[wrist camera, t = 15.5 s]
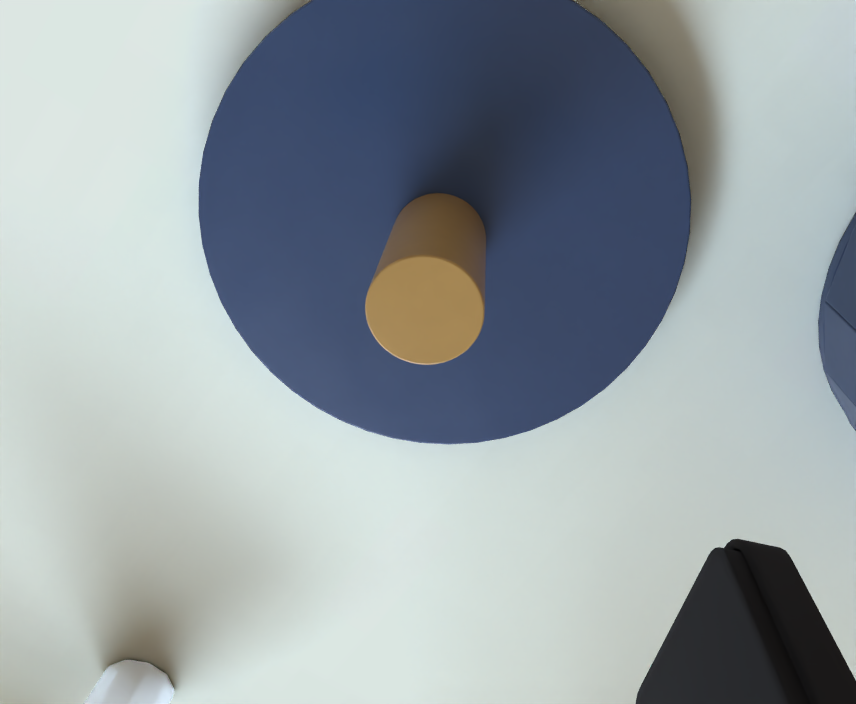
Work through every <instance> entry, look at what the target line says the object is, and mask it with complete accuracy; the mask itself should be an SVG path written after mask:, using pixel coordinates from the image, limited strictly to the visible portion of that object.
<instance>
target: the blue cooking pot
mask: <svg viewBox="0 0 856 704" xmlns="http://www.w3.org/2000/svg"><path fill="white" fill-rule="evenodd" d="M818 324H819V348H820V353H821V358H822V363H823V369H824V372H825V374H826V377H827V380H828V382H829V385H830V388H831V390H832V392H833V394H834V395H835V397H836V399H837V401H838V402H839V404H840V406H841V407H842V409H843V411H844V412H845V414H846V416H847V418H848V420H849V422H850V424H851V425H852V427H853V428H854V429H855V430H856V214H855V215H854V217H853V219H852V221H851V222H850V224H849V226H848V228H847V229H846V231H845V233H844V235H843V237H842V238H841V240H840V242H839V245H838V247H837V250H836V252H835V254H834V257H833V259H832V262H831V264H830V266H829V269H828V273H827V277H826V281H825V284H824V288H823V292H822V296H821V304H820V313H819V321H818Z"/></svg>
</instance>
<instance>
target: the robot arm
mask: <svg viewBox="0 0 856 704" xmlns="http://www.w3.org/2000/svg"><path fill="white" fill-rule="evenodd" d="M636 704H856V680H855V678H854V677H853V675H852V673H851V671H850V669H849V667H848V665H847V663H846V661H845V659H844V658H843V656H842V654H841V652H840V650H839V648H838V646H837V644H836V642H835V640H834V639H833V637H832V635H831V633H830V631H829V629H828V627H827V625H826V623H825V622H824V620H823V618H822V616H821V614H820V612H819V610H818V608H817V606H816V604H815V603H814V601H813V599H812V597H811V595H810V593H809V591H808V589H807V587H806V585H805V584H804V582H803V580H802V578H801V576H800V574H799V572H798V570H797V568H796V567H795V565H794V563H793V561H792V559H791V557H790V556H789V554H788V553H787V552H786V551H785V550H783V549H781V548H779V547H774V546H769V545H764V544H760V543H755V542H750V541H745V540H741V539H733V540H731V541H730V542H728V543H727V545H726V546H725V547H724V548H720V547H719V548H715V549H713V550H712V551H711V553H710V554H709V556H708V558H707V560H706V561H705V563H704V565H703V567H702V569H701V571H700V573H699V575H698V577H697V579H696V581H695V583H694V585H693V587H692V588H691V590H690V592H689V594H688V596H687V598H686V600H685V602H684V604H683V606H682V608H681V610H680V612H679V613H678V615H677V617H676V619H675V621H674V623H673V625H672V627H671V629H670V631H669V633H668V635H667V637H666V639H665V640H664V642H663V644H662V646H661V648H660V650H659V652H658V654H657V656H656V658H655V660H654V662H653V664H652V665H651V667H650V669H649V671H648V673H647V675H646V677H645V679H644V681H643V683H642V685H641V687H640V689H639V691H638V694H637V699H636Z"/></svg>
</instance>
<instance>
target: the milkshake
mask: <svg viewBox="0 0 856 704" xmlns="http://www.w3.org/2000/svg"><path fill="white" fill-rule="evenodd" d="M174 691H175V690H174V688H173V686H172V684H171V682H170V680H169V677H168V675H167V674H165V673H164V672H162V671H161V670H159V669H158V668H156V667H155V666H153V665H152V664H150V663H148V662H141V661H135V660H128V659H126V660H123V661H120V662H118V663H115V664H112V665H110V666H108V667H107V669H106V670H105V672H104V673H103V675H102V676H101V678H100V679H99V681H98V682H97V684H96V685H95V687H94V688H93V690H92V691H91V693H90V694H89V696H88V697H87V699H86V700H85V702H84V703H83V704H171V701H172V698H173V695H174Z"/></svg>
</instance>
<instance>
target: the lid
mask: <svg viewBox="0 0 856 704" xmlns="http://www.w3.org/2000/svg"><path fill="white" fill-rule="evenodd" d="M690 215H691V194H690V184H689V174H688V166H687V162H686V158H685V154H684V150H683V146H682V142H681V138H680V134H679V131H678V129H677V126H676V124H675V122H674V119H673V117H672V114H671V112H670V109H669V107H668V104H667V102H666V100H665V99H664V97H663V95H662V93H661V92H660V90H659V88H658V87H657V85H656V83H655V81H654V80H653V78H652V76H651V75H650V73H649V71H648V70H647V69H646V68H645V66H644V65H643V64H642V63H641V61H640V60H639V59H638V58H637V56H636V55H635V54H634V53H633V51H632V50H631V49H630V48H629V46H628V45H627V44H626V43H625V42H624V41H623V40H622V39H621V38H620V37H618V36H617V35H616V34H615V33H614V32H613V31H612V30H611V29H610V28H609V27H608V26H607V25H606V24H605V23H603V22H602V21H601V20H600V19H599V18H597V17H596V16H595V15H593V14H592V13H590V12H589V11H587V10H586V9H584V8H583V7H581V6H580V5H579V4H577V3H576V2H574V1H573V0H312V1H310V2H308V3H307V4H305V5H304V6H302V7H301V8H299V9H298V10H296V11H295V12H293V13H292V14H290V15H289V16H288V17H287V18H286V19H285V20H284V21H282V22H281V23H280V24H279V25H278V26H277V27H276V28H275V29H273V30H272V31H271V32H270V33H269V34H268V35H267V36H265V38H264V39H263V40H262V41H261V42H260V44H259V45H258V46H257V47H256V48H255V49H254V51H253V52H252V53H251V54H250V55H249V56H248V58H247V59H246V60H245V61H244V62H243V64H242V66H241V67H240V69H239V70H238V72H237V73H236V75H235V77H234V78H233V80H232V81H231V83H230V85H229V86H228V88H227V89H226V91H225V93H224V96H223V98H222V100H221V102H220V105H219V107H218V109H217V111H216V114H215V116H214V118H213V120H212V123H211V127H210V130H209V134H208V137H207V141H206V144H205V148H204V151H203V158H202V165H201V172H200V179H199V221H200V229H201V237H202V245H203V249H204V253H205V256H206V260H207V264H208V268H209V272H210V275H211V278H212V280H213V283H214V285H215V288H216V290H217V293H218V295H219V298H220V300H221V303H222V304H223V306H224V308H225V310H226V312H227V314H228V315H229V317H230V319H231V321H232V323H233V325H234V326H235V328H236V329H237V331H238V332H239V334H240V335H241V336H242V338H243V339H244V341H245V342H246V343H247V345H248V346H249V348H250V349H251V351H252V352H253V353H254V354H255V355H256V356H257V357H258V358H259V359H260V361H261V362H262V363H263V364H264V365H265V366H266V367H267V368H268V369H269V370H270V372H271V373H273V374H274V375H275V376H276V377H277V378H278V379H279V380H281V381H282V382H283V383H284V384H285V385H286V386H287V387H289V388H290V389H291V390H292V391H293V392H295V393H296V394H298V395H299V396H301V397H302V398H303V399H305V400H306V401H308V402H309V403H311V404H312V405H314V406H315V407H317V408H318V409H320V410H322V411H324V412H326V413H328V414H330V415H331V416H333V417H335V418H337V419H339V420H341V421H343V422H346V423H348V424H351V425H353V426H356V427H358V428H361V429H363V430H366V431H369V432H373V433H376V434H380V435H383V436H387V437H390V438H395V439H401V440H407V441H413V442H419V443H434V444H462V443H478V442H483V441H489V440H495V439H501V438H506V437H509V436H513V435H516V434H520V433H523V432H527V431H530V430H533V429H535V428H537V427H540V426H542V425H545V424H547V423H549V422H552V421H554V420H557V419H559V418H560V417H562V416H564V415H566V414H567V413H569V412H571V411H573V410H575V409H576V408H578V407H580V406H582V405H583V404H585V403H586V402H587V401H589V400H590V399H591V398H593V397H594V396H595V395H597V394H598V393H600V392H601V391H602V390H604V389H605V388H606V387H607V386H608V385H609V384H610V383H612V382H613V381H614V380H615V379H616V378H617V377H618V376H619V375H620V374H621V373H622V372H623V371H624V370H625V369H627V367H628V366H629V365H630V364H631V363H632V361H633V360H634V359H635V358H636V357H637V355H638V354H639V353H640V352H641V351H642V349H643V348H644V347H645V346H646V344H647V343H648V341H649V340H650V338H651V336H652V335H653V333H654V332H655V330H656V329H657V327H658V326H659V324H660V322H661V321H662V319H663V317H664V315H665V313H666V311H667V308H668V306H669V304H670V302H671V300H672V298H673V296H674V294H675V291H676V288H677V285H678V282H679V278H680V275H681V272H682V269H683V266H684V262H685V257H686V251H687V245H688V240H689V234H690Z"/></svg>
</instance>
